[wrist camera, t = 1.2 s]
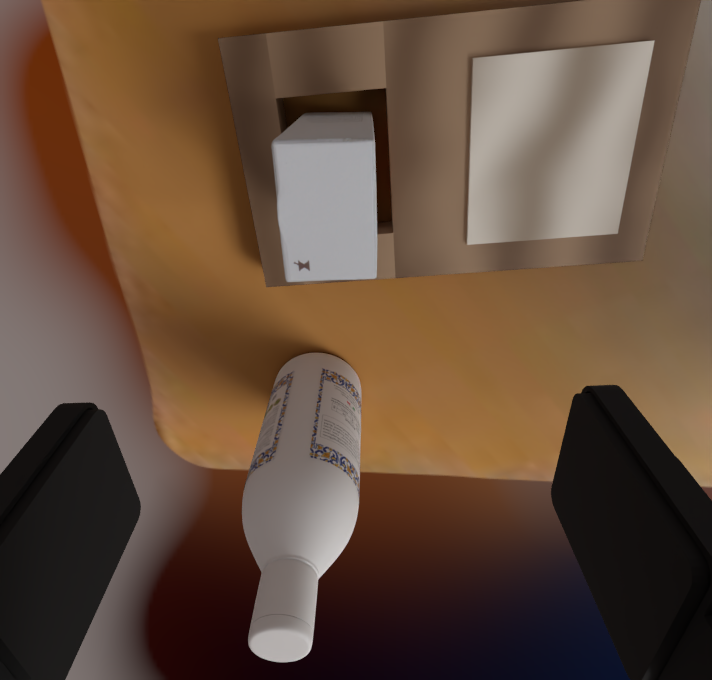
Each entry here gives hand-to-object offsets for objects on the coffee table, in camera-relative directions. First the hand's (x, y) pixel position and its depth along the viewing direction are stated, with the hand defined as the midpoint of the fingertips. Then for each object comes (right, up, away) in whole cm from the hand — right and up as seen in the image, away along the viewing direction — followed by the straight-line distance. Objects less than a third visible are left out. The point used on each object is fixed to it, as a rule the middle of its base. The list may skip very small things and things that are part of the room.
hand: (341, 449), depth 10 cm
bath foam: (-3, -1, +29) cm, 29 cm away
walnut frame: (+6, +14, +20) cm, 25 cm away
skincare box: (-1, +13, +21) cm, 25 cm away
